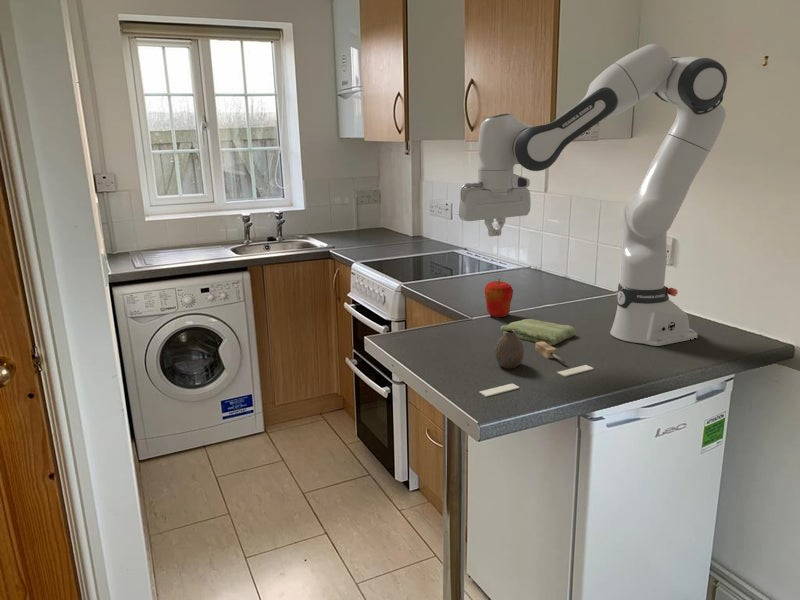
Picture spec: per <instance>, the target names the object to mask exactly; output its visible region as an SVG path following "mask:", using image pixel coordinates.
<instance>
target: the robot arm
mask: <svg viewBox="0 0 800 600" xmlns="http://www.w3.org/2000/svg"><path fill="white" fill-rule="evenodd" d="M727 82H728V74H727V70H726V69H725V67H724V66H723V65H722V64H721V63H720V62H719V61H717V60H715V59H712V58H709V57H702V56H691V55H690V56H682V57H681V56H673V57H671V55H670V53H669V52H668V50H666V48H665V47H664V46H662V45H660V44H657V43H649V44H646V45H645V46H641V47H640V48H637V49H636V50H633V51H632V52H630V53H628V54H627V55H624V56H623V57H621V58H620V59H618V60H616V61H615V62H613V63H612V64H611V65H609V66H608V67H607V68H606V69H604V70H603V71H602V72H601V73H600V74H598V76H597V75H596V77H594V79H593V80H592V81H591V83H590V84H589V86H588V88H587V92H586V94H585V95H584V97H583V98H582V99H581V100H580V101H579V102H578V103H577V104H575V105H574V106H572V107H571V108H569V110H566V111H565V112H564V113H563V114H561V115H560V116H558V117H556V118H555V119H554V120H553V121H551V122H549V123H545V124H542V125H541V124H540V125H537V126H536V125H535V126H533V125H530V124H528V123H526V122H523V121H521V120H520V119H517V118H516V117H515V116H513V115H512V114H511V113H501V114H497V115H492V116H488V117H486V118H485V119H484V120H482V122H481V123H480V126H479V132H478V143H477V154H478V157H479V163H478V166H477V182H473V183H471V182H468V183H465V185H463V186H462V187H461V188H460V194H459V196H460V199H459V208H458V218H459V219H460V220H461V221H464V222H474V221H475V222H477V221H483V220H484V225H485V226H486V229H487V235H488V237H497V236H498V237H500V236H502V229H503V227H504V225H505V223H506V218H513V217H514V218H515V217H524V216H528V215H529V214H530V212H531V204H532V203H531V199H532V198H531V191H530V189H529V187H530V184H531V180H530V178H528V177H525V176H521V175H519V174H515V173H514V168H515V165H521V167H522V168H524V169H526V170H528V171H532V172H541V171H545V170H546V169H548V168H550V167H551V166H552V165H554V163H555V162H556V161H557V159H558V158H559V156H561V153H562V152H563V150H565V148H566V147H567V146H568V145H569V144H570V143H572V142H573V141H574V140H576V139H577V138H579V137H580V136H581V135H583V134H584V133H586V132H587V131H588V130H590V129H592V128H593V127H594V126H595V125H597V124H598V123H601V122H603V121H605V120H608V119H610V118H614V117H615V116H617V115H619V114H622V113H624V112H625V111H627V110H629V109H631V108H632V107H634V106H635V105H637V104H638V103H640V102H641V101H642V100H644V99H645V98H647V97H648V96H650V95H652V94H654V95H655V96H656V97H657V98H659V99H660V100H661V101H664V102H667V103H670V104H673V105H676V107H677V108H676V110H677V111H676V116H675V119H674V122H673V124H672V125H671V126H670V129H669V130H668V132H667V134H666V136H665V137H664V139H663V141H662V142H661V144H660V146H659V148H658V150H657V151H656V154H655V156H654V157H653V159H652V160H651V162H650V164H649V167H648V169H647V172H646V174H645V176H644V177H643V180H642V182H641V184H640V186H639V188H638V190H637V192H634V193H633V194H631V196H629V198H628V199H627V200H626V202H625V204H624V208H623V219H622V220H623V222H622V245H621V246H622V249H621V268H620V281H619V283H618V287H617V296H616V299H617V301H616V302H617V307H616V312H615V316H614V321H613V323H612V326H611V328H610V332H609V333H610V335H611V336H612V337H614V338H616V339H618V340H621V341H625V342H630V343H634V344H635V343H637V344H644V345H649V346H654V347H658V346H659V347H660V346H664V345H671V344H675V343H679V342H681V343H682V342H685V341H690V339H691V340H695V339H694V338H696V339H698V333H697V332H696V331H695V330H694V329H692V328H690V321H689V317H688V314H687V313H686V312H685V311H684V310H683V309H682V308H681V307H679V306H678V305H676V304H675V303H674V301H672V300H671V299H670V297H669V296H671V297H676V296H677V295H678V293H679V292H678V289H677V288H673V287H668V286H666V285H665V279H666V269H667V268H666V267H667V260H668V259H667V257H668V256H667V255H668V254H667V231H669V230H670V229H671V227H672V225H673V222H674V221H675V219H676V217H677V215H678V213H679V211H680V208H681V207H682V205H683V203H684V201H685V199H686V197H687V194H688V192H689V191H690V187H691V185H692V183H693V182H694V180H695V178H696V176H697V174H698V172H700V169H701V167H702V166H703V164H704V162H705V161H706V159H707V157H708V156H709V154H710V152H712V149H713V147H714V145H715V143H716V141H717V140H718V137H719V135H720V133H721V131H722V129H723V128H722V127H723V125H724V122H725V119H726V116H727V114H726V109H725V107H723V105H722V104H721V103H722V102H723V99H724V94H725V91H726V88H727ZM494 219H495V220H494ZM494 221H496V222H497V223H496V226H495V227H494V225H493V224H494Z"/></svg>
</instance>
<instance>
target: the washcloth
mask: <svg viewBox="0 0 800 600" xmlns="http://www.w3.org/2000/svg"><path fill="white" fill-rule="evenodd" d="M500 330H501V331H502V332H503V333H502V335H503V334H504V332H505V331H506V330H514V331H515V333H516V335H517V336H518V337H519V339H520V340H524V341H529V342H532V343H536V342H545V343H547V344H549V345H550V346H555V345H556V344H559V343H561V342H563V341H564V340H568V339H571V338H574V336H575V335H576V334H577V333H576V330H575V328H574V327H573V326H571V325H567V324H566V325H565V324H558V323H555V322H549V321H542V320H539V319H538V320H537V319H533V318H532V319H531V318H527V319H524V318H523V319H521V320H518V321H513V322H509V324H507V325H501V326H500Z"/></svg>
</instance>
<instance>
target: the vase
mask: <svg viewBox="0 0 800 600" xmlns="http://www.w3.org/2000/svg"><path fill="white" fill-rule="evenodd" d="M503 332H504V331H503ZM494 354H495V359H496V362H497V364H499V365H500V366H501V367H502V368H504V369H515V368H517V367H519V366H520V365H521V363H522V362H523V359H524V357H525V347H524V344H523V342H522V339H519V337H518V336H517V335H516V333H515V331H514V330H506V331H505V332H504V334H503V333H502V336H501V337H500V338H499V339H498V341H497V342H496V345H495V349H494Z"/></svg>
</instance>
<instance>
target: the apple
mask: <svg viewBox="0 0 800 600" xmlns="http://www.w3.org/2000/svg"><path fill="white" fill-rule="evenodd" d="M513 293H514V289H513V287H512V285H511V284H509V283H507V282H506V281H500V278H498V280H496V281H495V280H494V281H490V282H488V283H487V284H486V285H485V287H484V298H485V303H486V304H485V306H486V312H487V313H488V314H489V315H490V316H491V317H494V318H504V317H505V318H506V317H507V316H508V315H509V313H510V312H511V303H512V300H513V296H514V294H513Z"/></svg>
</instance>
